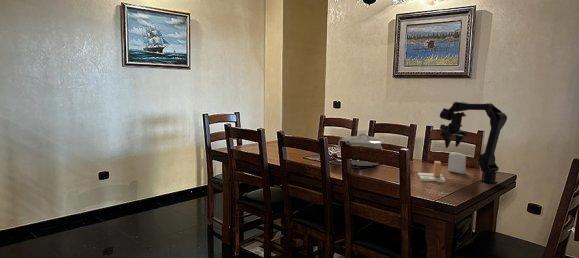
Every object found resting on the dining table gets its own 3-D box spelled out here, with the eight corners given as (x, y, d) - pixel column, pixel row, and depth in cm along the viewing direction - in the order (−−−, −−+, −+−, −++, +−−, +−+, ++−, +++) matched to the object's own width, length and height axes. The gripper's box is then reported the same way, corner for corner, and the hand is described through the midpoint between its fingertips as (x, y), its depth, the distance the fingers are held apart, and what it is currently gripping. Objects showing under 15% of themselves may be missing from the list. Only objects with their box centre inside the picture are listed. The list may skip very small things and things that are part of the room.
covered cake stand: (392, 168, 254) (393, 136, 251) (353, 170, 245) (354, 137, 243) (370, 159, 280) (371, 130, 277) (334, 161, 272) (335, 131, 269)
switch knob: (438, 176, 231) (439, 161, 230) (440, 178, 227) (441, 162, 225) (433, 176, 232) (434, 160, 230) (434, 178, 227) (435, 162, 226)
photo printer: (446, 171, 249) (448, 151, 247) (450, 170, 252) (451, 151, 250) (462, 174, 241) (464, 154, 240) (466, 173, 244) (467, 153, 242)
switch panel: (440, 176, 235) (440, 173, 235) (445, 182, 222) (445, 179, 222) (417, 175, 238) (417, 172, 237) (421, 181, 224) (421, 178, 224)
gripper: (454, 118, 251) (450, 142, 255) (434, 120, 242) (430, 144, 245) (470, 122, 242) (465, 147, 246) (450, 124, 233) (445, 149, 236)
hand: (451, 147), depth 244 cm, fingers open, 9 cm apart
